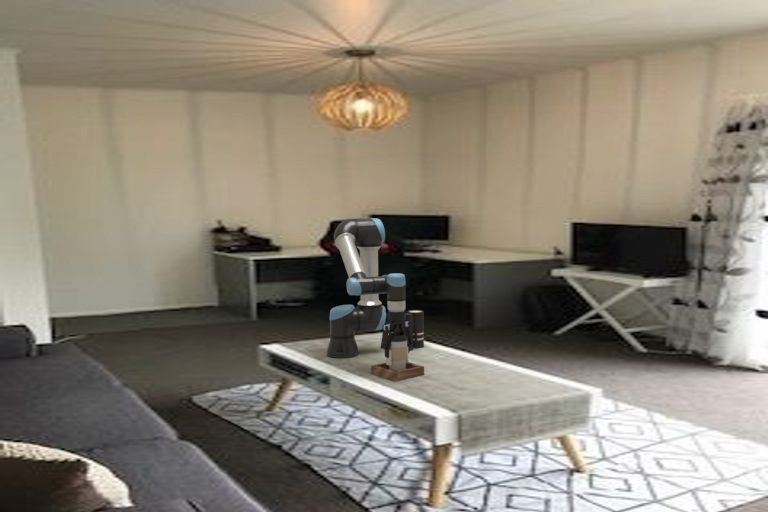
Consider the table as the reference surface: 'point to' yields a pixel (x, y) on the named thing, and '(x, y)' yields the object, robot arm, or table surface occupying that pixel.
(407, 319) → the light fixture
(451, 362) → the table surface
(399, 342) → the coffee cup
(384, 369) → the tray
